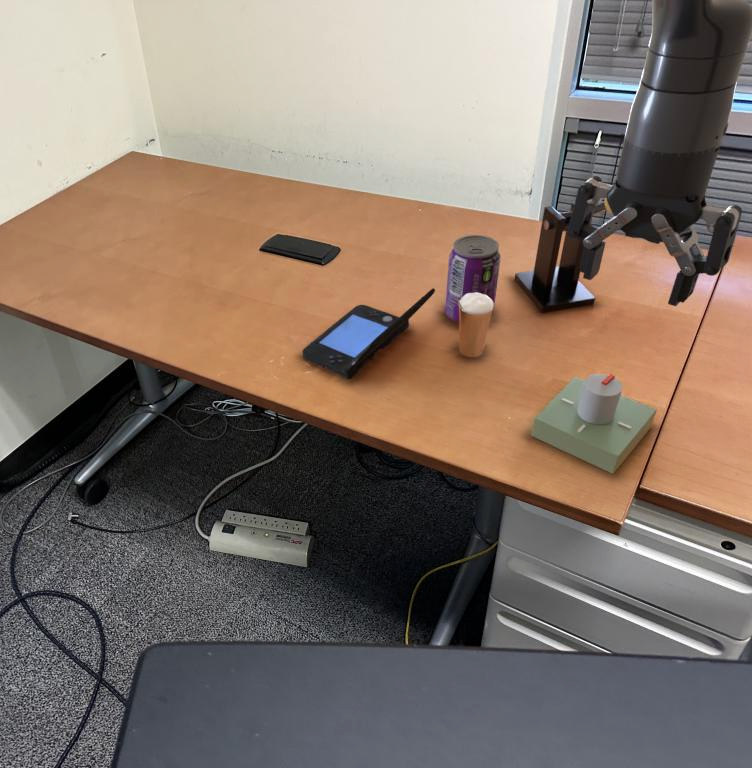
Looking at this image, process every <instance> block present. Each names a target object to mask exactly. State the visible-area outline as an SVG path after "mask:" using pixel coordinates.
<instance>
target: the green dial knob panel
mask: <svg viewBox="0 0 752 768" xmlns="http://www.w3.org/2000/svg"><path fill="white" fill-rule="evenodd" d="M584 381H585V379H582V378H580V377H577V376H574V377H573V378H572V379H571V380H570V381H569V382H568V383H567V384H566V385H565V386H564V387H563V388H562V389H561V390H560V391H559V393H557V394H556V395H555V396H554V398H552V399H551V400H550V402H549V403H547V405H546V406H545V407H544V408H543V409H542V410H541V411H540V412H539V413H538V414H537V415H536V416H535V417H534V419H533V423H532V424H533V425H532V429H531V435H530V437H533V438H534V439H537V440H539V441H541V442H544V443H545V444H547V445H550V446H552V447H554V448H555V449H559V450H561V451H563V452H565V453H567V454H568V455H569V454H570V455H571V456H573V457H575V458H577V459H580V460H582V461H584V462H585V463H589V464H590V465H592V466H595V467H597V468H599V469H601V470H603V471H606V472H608V473H609V474H612V475H614V474H615V472H616V471H617V470H618V468H619V467H620V466H621V465H622V464H623V462H625V460H626V459H627V458H628V456H630V454H631V452H632V451H633V450H634V449H635V448H636V446H637V445H639V443H640V441H641V440H642V439H643V438H644V437H645V435H646V434H647V433H648V431H650V429H651V428H652V425H653V422H654V420H655V417H656V414H657V412H658V409H657V408H654V407H652V406H649V405H648V404H645V403H642V402H639V401H638V400H634V399H632V398H629V397H627V396H625V395H622V394H621V396H620V399H619V402H618V406H617V409H616V412H615V416H614V419H613V420H612V421H611V422H609V423H607V424H602V425H597V424H592V423H589V422H586V421H584V420H583V419H582V418H581V417H580V416H579V415H578V413H577V408H578V405H579V401H580V397H581V393H582V389H583V385H584Z"/></svg>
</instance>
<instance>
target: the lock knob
mask: <svg viewBox="0 0 752 768" xmlns="http://www.w3.org/2000/svg"><path fill="white" fill-rule="evenodd" d="M615 377H616V375H614V374H613V373H609V374H605V373H604V374H603V373H595V374H590V375H589V376H587V377H586V378H585V379H584V385H583V389H582V393H581V397H580V401H579V405H578V408H577V413H578V415H579V416H580V417H581V418H582V419H583V420H584V421H586V422H589V423H592V424H597V425H602V424H607V423H609V422H611V421H612V420H613V419H614V416H615V412H616V409H617V406H618V402H619V399H620V396H621V395H622V392H623V389H624V387H623V384H622V382H621V381H620V380H619V379H617V378H615Z"/></svg>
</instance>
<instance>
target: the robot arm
mask: <svg viewBox="0 0 752 768" xmlns="http://www.w3.org/2000/svg"><path fill="white" fill-rule="evenodd" d="M651 3H652V4H651V7H652V9H651V11H652V14H651V19H652V20H651V35H650V39H649V43H648V48H647V52H646V57H645V61H644V65H643V69H642V74H641V78H640V81H639V85H638V88H637V91H636V94H635V97H634V99H633V102H632V104H631V109H630V111H629V116H628V122H627V126H626V130H625V135H624V139H623V144H622V148H621V152H620V156H619V161H618V165H617V170H616V174H615V182H614V184H613V185H611V184H608V183H604V182H603V180H602V178H601V177H600V176H598V175H593V176H592V177H590V178H589V179H587V180H586V181H585V182H583V183H582V184H581V185H580V186H579V187H578V189H577V193H576V197H575V200H574V202H575V204H574V208H573V212H572V216H571V219H570V223H569V227H568V231H567V234H568V236H569V237H570V238H573V239H574V238H577V239H579V240H580V241H581V242H582V243H583V245H584V249H583V254H582V259H581V264H580V273H583V275H582V278H583V279H585V280H588V281H592V279H594V278H595V277H596V276H597V275H598V274H599V271H600V268H601V264H602V259H603V256H604V251H605V248H606V247H605V246H606V243H607V242H606V241H604V240H606V239H608V238H609V237H610V236H611V235H613V234H614V233H616V232H617V231H618V230H621V231H622V232H623V233H624V234H625V235H624V236H625V237H628V238H631V239H632V238H633V239H643V240H645V241H647V242H649V243H652V244H657V245H659V244H660V243H663V244H664V246H665V248H666V250H667V252H668V254H669V255H670V256H671V257H673V258H674V259H675V261H676V263H677V266H678V267H679V269H680V270H679V271H678V272H677V273H676V276H675V280H674V283H673V286H672V289H671V291H670V295H669V298H668V302H667V304H668V305H669V306H673V307H677V306H678V305H679V304H680V303H681V304H684V303H685V301H687V300H688V299H689V297H691V295H692V294H693V293H694V291H695V287H696V284H697V282H698V280H699V276H700V274H705V275H707V276H710V277H713V276H716V275H717V274H719V272H720V271H721V270H722V269H723V267H724V266H726V265H727V264H728V263H729V261H730V258H731V254H732V249H733V246H734V243H735V239H736V236H737V232H738V228H739V226H740V225H739V224H740V221H741V217H742V214H743V209H742V207H741V206H740V205H737V204H732V205H730V206H728V207H727V208H726V207H725V208H724V207H719V206H712V205H708V204H707V202H706V193H707V189H708V186H709V183H710V181H711V177H712V173H713V170H714V167H715V164H716V161H717V158H718V154H719V151H720V148H721V145H722V142H723V138H724V137H725V136H726V133H727V131H728V130H727V129H728V127H729V124H730V123H729V119H730V116H731V112H732V109H733V105H734V98H735V91H736V88H737V87H736V86H737V83H738V79H739V76H740V73H741V70H742V68H743V67H742V66H743V64H744V60H745V57H746V55H747V52H748V51H747V50H748V47H749V44H750V41H751V38H752V4H751V3H750V2H748V1H746V0H651ZM605 198H606V199H607V203H608V205H609V207H610V209H611V211H612V213H613V214H612V213H611V214H612V215H613V216H612V217H611V218H609V219H608V220H607V221H605V222H604V223H603V224H601V225H600V226H598V227H597V228H596V227H594V226H593V225H592V221H593V217H594V216H593V212H594V209H595V206H596V205H598V204H600V202H602V201H603V200H604V199H605ZM592 216H593V217H592ZM591 220H592V221H591ZM700 220H703V221H704V222H705V223H706V230H707V232H708V233H711V234H712V235H711V239H710V243H709V246H708V247H709V248H708V252H707V255H706V254H705V253H704V252H703V249H702V248H701V245H700V244H699V235H698V233H697V231H696V229H695V227H694V224H696V223H697V222H699V221H700ZM590 223H591V225H590Z"/></svg>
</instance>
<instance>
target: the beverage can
mask: <svg viewBox="0 0 752 768" xmlns="http://www.w3.org/2000/svg"><path fill="white" fill-rule="evenodd" d="M499 246H500V245H499V242H498V241H497V240H495V239H494V238H493V237H490V236H487V235H482V234H467V235H464V236H461V237H459V238H457V239H456V240H454V242H453V246H452V249H451V251H450V253H449V254H448V255H449V256H448V266H447V279H446V291H445V304H444V306H445V307H444V312H445V315H446V316H447V317H448V318H449V319H451V320H452V321H454V322H456V323H459V303H458V300H457V298H458V299H459V301H460V299H461V298H462V297H463V296H464V295H466V294H468V293H476V292H477V293H481V294H484V295H487V296H488V297H489V298H490V299H492V301H493V303H494V307H493V311H492V315H491V318H492V317H493V315H494V312H495V305H496V296H497V290H498V289H497V288H498V281H499V273H500V265H501V258H502V257H501V256H502V255H501V254H500V252H499Z"/></svg>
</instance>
